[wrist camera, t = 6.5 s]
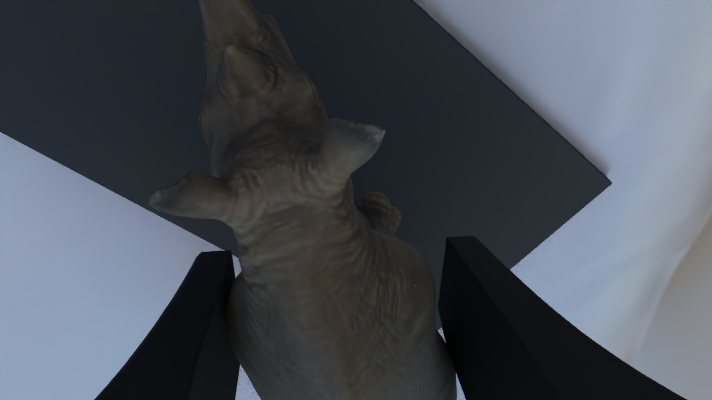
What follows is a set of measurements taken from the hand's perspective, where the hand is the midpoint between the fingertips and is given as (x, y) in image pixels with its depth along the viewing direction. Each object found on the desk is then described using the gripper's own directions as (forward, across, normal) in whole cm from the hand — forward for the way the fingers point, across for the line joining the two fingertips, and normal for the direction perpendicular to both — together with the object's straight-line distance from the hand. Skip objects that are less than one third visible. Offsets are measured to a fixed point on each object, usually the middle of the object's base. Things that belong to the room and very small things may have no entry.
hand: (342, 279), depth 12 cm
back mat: (+8, 0, +1) cm, 8 cm away
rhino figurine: (+2, 0, 0) cm, 2 cm away
